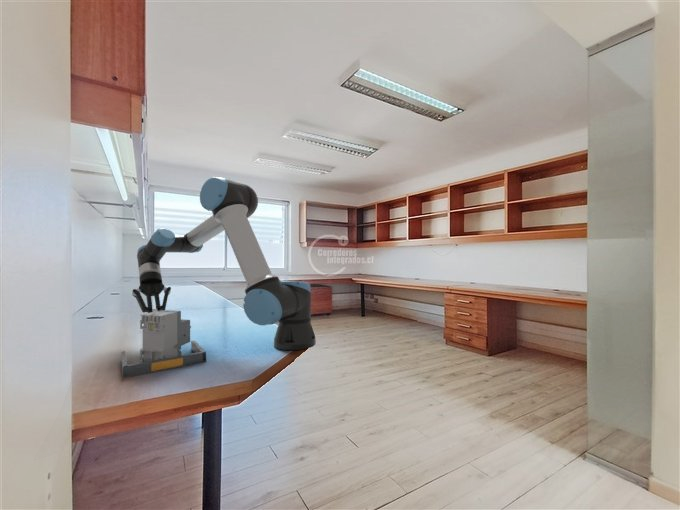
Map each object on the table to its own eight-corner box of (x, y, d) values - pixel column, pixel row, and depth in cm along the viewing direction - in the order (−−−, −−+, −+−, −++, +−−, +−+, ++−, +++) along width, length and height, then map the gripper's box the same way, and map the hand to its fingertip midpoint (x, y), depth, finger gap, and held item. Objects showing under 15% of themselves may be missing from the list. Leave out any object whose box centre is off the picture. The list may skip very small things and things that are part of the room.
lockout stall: (206, 361, 95) (206, 352, 95) (123, 378, 83) (122, 367, 83) (194, 348, 109) (194, 340, 109) (121, 361, 96) (121, 351, 96)
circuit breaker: (193, 351, 106) (193, 307, 106) (161, 366, 92) (161, 315, 92) (174, 350, 107) (174, 307, 107) (140, 364, 93) (139, 314, 93)
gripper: (168, 282, 129) (175, 329, 116) (130, 284, 121) (133, 334, 108) (169, 269, 125) (177, 316, 111) (131, 271, 117) (134, 322, 104)
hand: (156, 325), depth 110 cm, fingers closed
